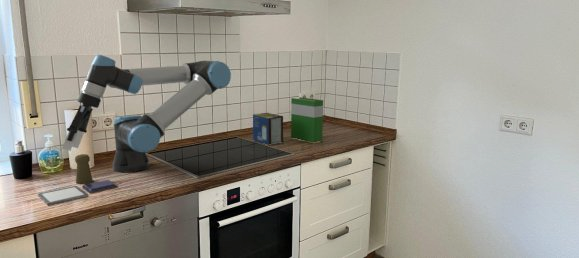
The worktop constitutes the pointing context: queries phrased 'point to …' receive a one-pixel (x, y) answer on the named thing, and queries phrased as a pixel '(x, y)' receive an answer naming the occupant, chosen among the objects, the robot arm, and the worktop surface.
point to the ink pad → (99, 186)
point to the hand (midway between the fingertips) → (70, 148)
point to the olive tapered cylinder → (83, 169)
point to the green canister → (307, 119)
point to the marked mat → (62, 195)
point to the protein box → (267, 128)
